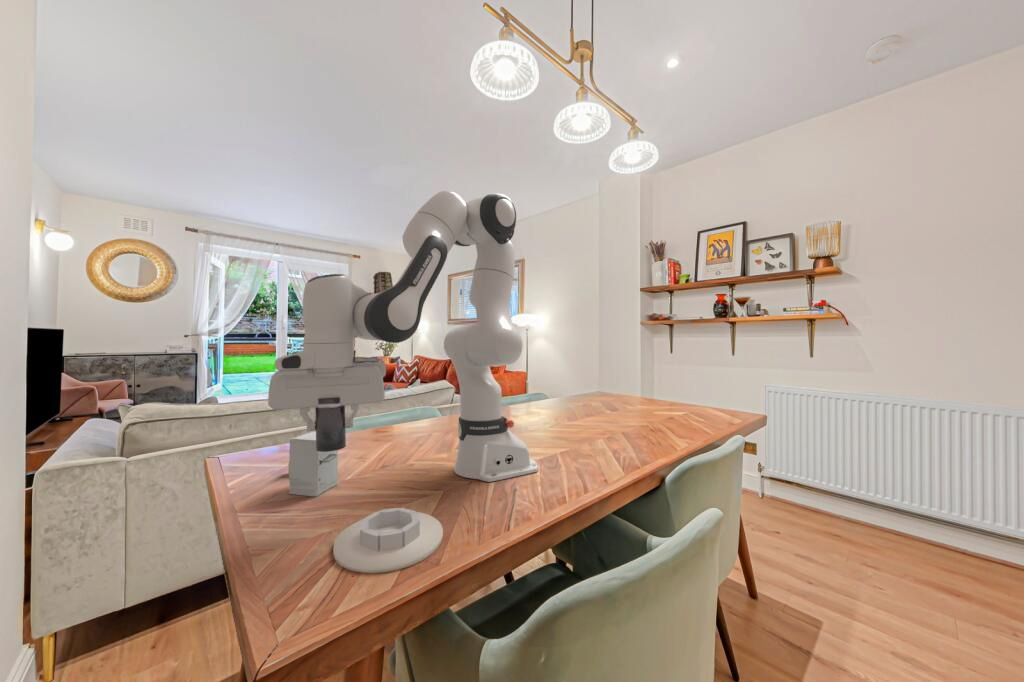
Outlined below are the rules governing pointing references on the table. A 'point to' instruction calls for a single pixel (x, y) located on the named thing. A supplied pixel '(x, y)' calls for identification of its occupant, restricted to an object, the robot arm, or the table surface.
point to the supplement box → (311, 467)
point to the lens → (330, 425)
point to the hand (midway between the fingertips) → (330, 428)
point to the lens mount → (388, 541)
